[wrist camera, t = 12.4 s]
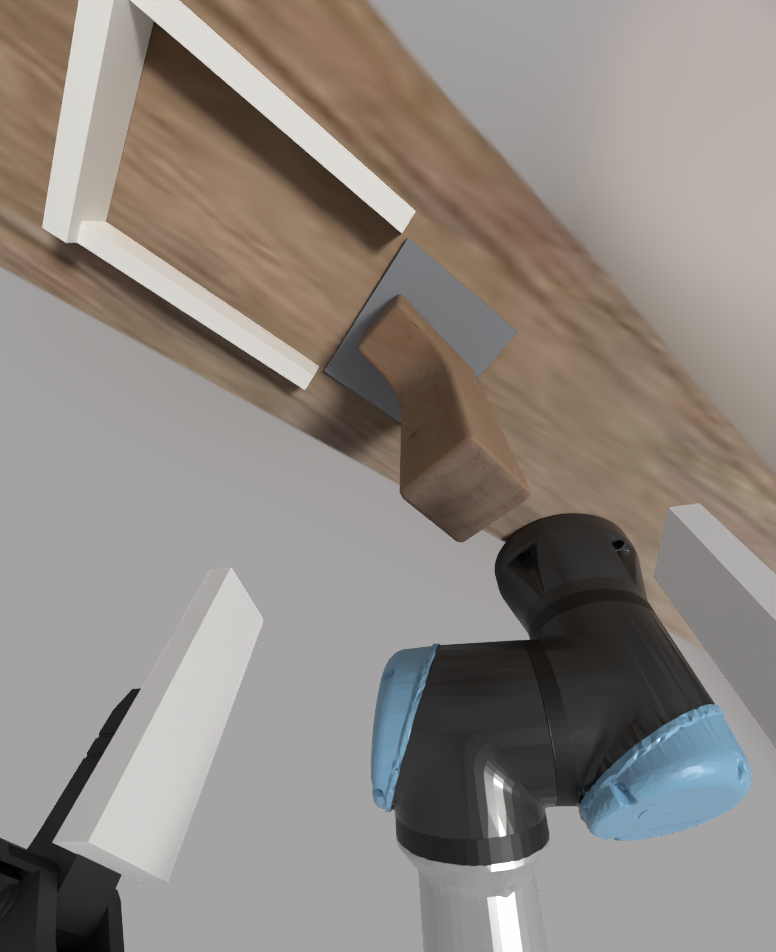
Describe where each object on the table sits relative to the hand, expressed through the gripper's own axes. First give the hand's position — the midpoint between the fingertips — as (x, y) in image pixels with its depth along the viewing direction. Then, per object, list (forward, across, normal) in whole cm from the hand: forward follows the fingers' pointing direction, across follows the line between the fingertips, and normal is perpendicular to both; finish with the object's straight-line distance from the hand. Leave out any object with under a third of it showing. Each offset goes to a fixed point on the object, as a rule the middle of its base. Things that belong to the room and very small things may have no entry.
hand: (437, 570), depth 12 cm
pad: (+24, 0, 0) cm, 24 cm away
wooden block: (+24, 0, 0) cm, 24 cm away
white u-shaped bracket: (+24, +11, -12) cm, 29 cm away
